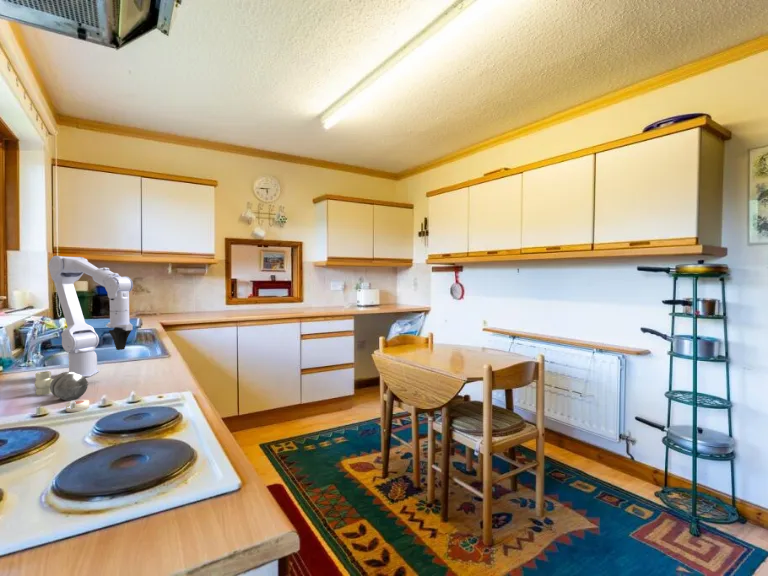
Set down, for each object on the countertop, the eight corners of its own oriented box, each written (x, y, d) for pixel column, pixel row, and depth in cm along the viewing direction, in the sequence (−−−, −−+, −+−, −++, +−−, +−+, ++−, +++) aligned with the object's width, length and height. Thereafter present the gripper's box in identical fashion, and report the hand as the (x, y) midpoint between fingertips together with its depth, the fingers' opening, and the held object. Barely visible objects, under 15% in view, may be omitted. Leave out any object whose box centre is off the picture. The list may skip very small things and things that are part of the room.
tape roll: (71, 407, 111) (71, 400, 110) (92, 405, 112) (92, 398, 112) (62, 412, 106) (62, 405, 106) (84, 411, 107) (84, 404, 107)
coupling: (50, 400, 116) (49, 374, 116) (81, 394, 123) (80, 369, 122) (56, 403, 113) (55, 376, 113) (87, 397, 120) (87, 371, 120)
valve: (27, 396, 121) (62, 398, 119) (26, 374, 121) (61, 375, 119) (48, 390, 127) (81, 391, 126) (47, 369, 127) (81, 370, 126)
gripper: (97, 310, 142) (98, 349, 142) (115, 312, 133) (116, 353, 134) (120, 309, 147) (120, 346, 148) (138, 311, 139) (139, 350, 139)
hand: (120, 349), depth 141 cm, fingers closed
